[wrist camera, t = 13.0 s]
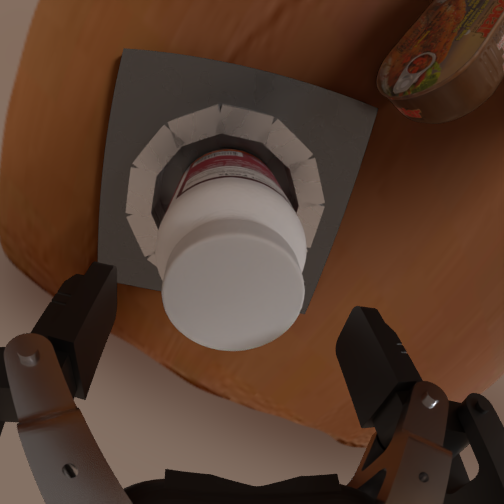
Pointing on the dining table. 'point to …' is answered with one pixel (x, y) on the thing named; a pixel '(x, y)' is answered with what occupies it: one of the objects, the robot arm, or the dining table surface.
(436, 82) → the tin
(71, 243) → the dining table surface
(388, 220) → the dining table surface
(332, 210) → the collar
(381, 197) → the dining table surface
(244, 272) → the pill bottle
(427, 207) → the dining table surface
